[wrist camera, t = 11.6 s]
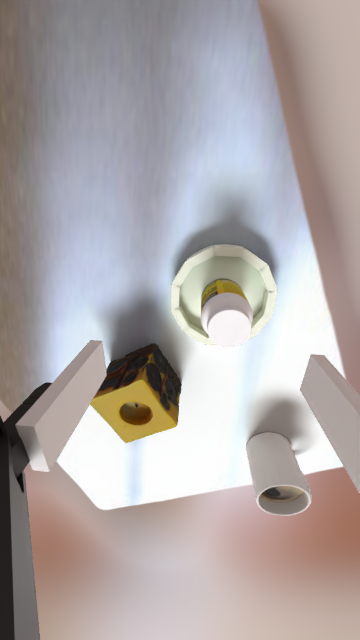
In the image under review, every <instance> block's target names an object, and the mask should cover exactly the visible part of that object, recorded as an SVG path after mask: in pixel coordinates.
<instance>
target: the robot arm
mask: <svg viewBox="0 0 360 640" xmlns="http://www.w3.org/2000/svg"><path fill="white" fill-rule="evenodd" d="M106 376H107V373H106V366H105V358H104V351H103V344H102V341H94V340H90V342H89V343H88V344H87V345H86V346H85V347H84V348H83V349H82V351H81V352H80V353H79V354H78V355H77V356H76V357H75V358H74V360H73V361H72V362H71V363H70V364H69V365H68V366H67V367H66V369H65V370H64V371H63V372H62V373H61V374H60V375H59V376H58V377H57V379H56V380H55V381H54V382H53V383H44V384H43V385H41V386H40V387H38V388H36V389H35V390H34V391H33V392H32V393H31V395H30V396H29V397H28V398H27V399H26V400H25V401H24V402H23V404H21V405H20V406H19V407H18V408H17V409H16V410H15V411H14V412H13V413H12V414H11V416H9V418H8V419H7V420H6V421H5V422H4V423H3V421H2V419H1V416H0V640H40V634H39V623H38V612H37V601H36V590H35V579H34V569H33V557H32V546H31V535H30V525H29V514H28V503H27V492H26V482H25V474H24V471H23V470H24V468H25V467H26V466H27V464H28V463H29V462H30V464H31V467H32V470H37V471H46V472H49V471H50V470H51V468H52V466H53V465H54V463H55V462H56V460H57V458H58V457H59V455H60V453H61V452H62V450H63V448H64V447H65V445H66V443H67V441H68V440H69V438H70V436H71V435H72V433H73V431H74V430H75V428H76V426H77V425H78V423H79V421H80V420H81V418H82V416H83V415H84V413H85V411H86V409H87V408H88V406H89V404H90V403H91V401H92V399H93V398H94V396H95V394H96V393H97V391H98V389H99V388H100V386H101V384H102V382H103V381H104V379H105V377H106ZM300 391H301V392H302V394H303V396H304V398H305V399H306V401H307V403H308V405H309V406H310V408H311V410H312V412H313V413H314V415H315V417H316V419H317V420H318V422H319V424H320V426H321V427H322V429H323V431H324V433H325V434H326V436H327V438H328V440H329V441H330V443H331V445H332V447H333V448H334V450H335V452H336V453H337V455H338V457H339V459H340V460H341V462H342V464H343V466H344V467H345V469H346V471H347V473H348V474H349V476H350V478H351V480H352V481H353V483H354V485H355V487H356V488H357V490H358V492H359V494H360V395H359V394H358V393H357V392H356V391H355V390H354V389H353V387H352V386H351V385H350V384H349V383H348V382H347V381H346V380H345V378H344V377H343V376H342V375H341V374H340V373H339V372H338V371H337V369H336V368H335V367H334V366H333V365H332V364H331V363H330V362H329V360H328V359H327V358H326V357H325V356H324V355H311V356H310V359H309V362H308V366H307V369H306V372H305V375H304V378H303V382H302V385H301V388H300Z"/></svg>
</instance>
